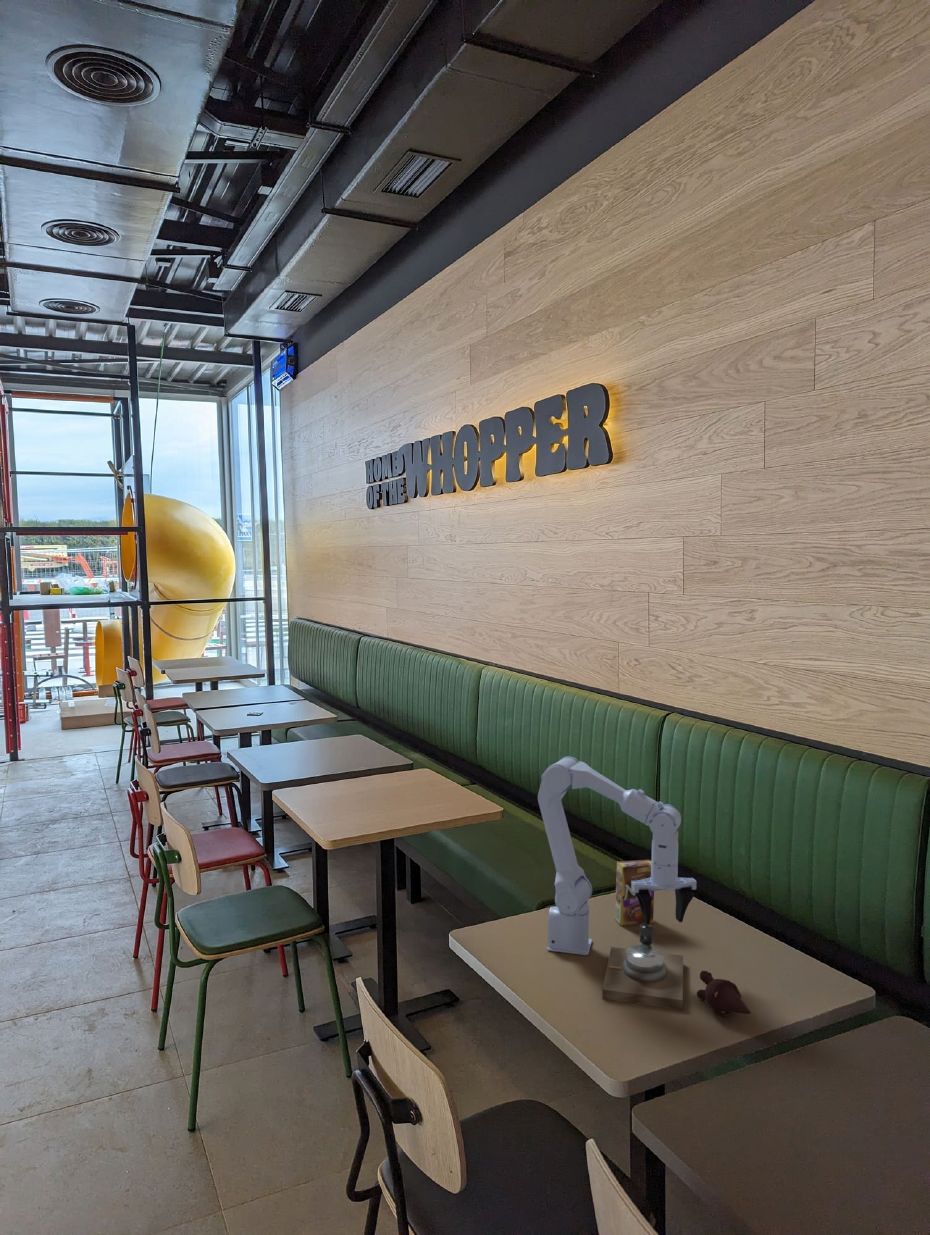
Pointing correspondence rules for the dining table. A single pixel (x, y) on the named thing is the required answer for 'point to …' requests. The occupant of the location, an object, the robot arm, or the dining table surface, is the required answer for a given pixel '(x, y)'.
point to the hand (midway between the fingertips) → (662, 921)
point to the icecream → (721, 995)
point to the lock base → (644, 982)
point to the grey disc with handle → (645, 953)
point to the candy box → (631, 892)
